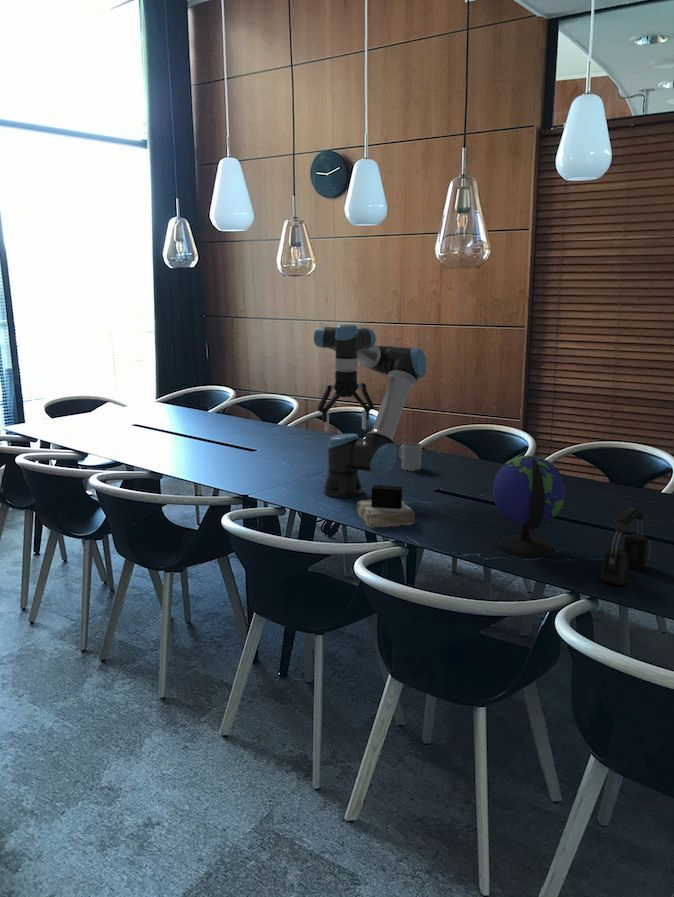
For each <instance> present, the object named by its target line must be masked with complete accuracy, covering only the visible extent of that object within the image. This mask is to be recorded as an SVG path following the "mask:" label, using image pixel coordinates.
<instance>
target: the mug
mask: <svg viewBox="0 0 674 897" xmlns="http://www.w3.org/2000/svg"><path fill="white" fill-rule="evenodd" d="M422 447H423V446H422V444H421V443H419V442H412V441H411V442H410V441H409V442H404V443H402V445H401V446H400V447H399V450H398V455H399V459H400V460H401V469H402V470H403V469H404V470H403V471H406V470H408V471H407V472H416V471H415V470H418V471H420V470H421V469H422V451H423V450H422V449H423V448H422ZM419 469H420V470H419Z"/></svg>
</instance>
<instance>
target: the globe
mask: <svg viewBox="0 0 674 897" xmlns="http://www.w3.org/2000/svg"><path fill="white" fill-rule="evenodd" d="M491 490H492V497H493V502H494V503H495V504H494V505H495V506H496V508H497V509H498V512H499V513H500V514H501V515H503V517H504V518H505V519H507V520H508V521H510V522H511V523H513V524H516V525H519V526H522V528H521V530H520V533H517V534H514V533H513V534H508V535H504V536H501V537H500V538H499V539H498V540H497V542H496V544H495V545H496V547H497V549H498V550H500V551H502V552H503V553H506V554H509V555H511V556H517V557H524V558H539V557H545V556H548V555H550V554H551V553H552V552H553V546H552V544H551V543H550V542H548V540H546V539H544V538H541V537H538V536H537V535H536V536H535V535H531V533H530V531H533V530H536V529H538V528H539V526H540V525H543V524H546V523H547V522H549V521H551V520H552V519H553V518H554V517H555V516H557V514H559V512H560V510H561V509H562V507H563V505H564V503H565V494H566V493H565V492H566V490H565V482H564V477H563V476H562V474H561V472H560V471H559V469H558V468H557V467H556V466H555V465H554V464H552V463H551V461H548V460H547V459H545V458H542V457H540V456H537V455H528V454H527V455H520V456H516V457H513V458H511V459H510V460H508V461H506V462H505V463H504V464H503V465H502V466H501V467H500V469H499V470H498V471H497V474H495V477H494V481H493V483H492V486H491ZM549 553H550V554H549Z"/></svg>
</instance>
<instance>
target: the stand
mask: <svg viewBox="0 0 674 897" xmlns="http://www.w3.org/2000/svg"><path fill="white" fill-rule="evenodd" d="M371 503H372V499H365V500H358V501H357V502H356V514H357V513H358V514H359V515H358V514H357V515H358V517H359V518H360V517H361V518H362V519H363V520H364V521H365V522H366V523H365V522H364V521H363V520H362V519H361V518H360V519H361V520H362V521H363V522H364V523H365V524H366V525H367V527H370V528H369V529H376V528H375V527H381V528H390V527H389V526H392V527H401V526H400V525H404V526H411V525H412V524H414V525H415V516H416V515H415V514H416V512H415V511H414V510H413V509H412V508H411V507H409V506H408V505H407V504H406V503H405V502H404V501H403V500H402V506H401V509H394V508H378V507H371ZM412 526H413V525H412Z"/></svg>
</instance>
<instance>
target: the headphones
mask: <svg viewBox="0 0 674 897" xmlns="http://www.w3.org/2000/svg"><path fill="white" fill-rule="evenodd" d="M641 511H642V510H640V509H639V508H634V507H628V508H626V509H625V510H624V511H623V512H622V513H621V514H620V515H619V517H618V519H617V520H616V522H615V524H614V526H613V530H614V531H615V534H614V537H613V540H612V544H611V548H608V549H607V550H606V551H605V553H604V554H603V560H602V566H601V572H600V578H601V580H602V581H603V582H606V583H609V584H612V585H616V586H623V585H624V584H626V582H627V579H628V572H629V568H631V567H632V569H635V568H636V569H635V570H642V569H644V568H645V566H646V564H647V562H648V561H647V560H648V550H649V541H648V539H647V538H646V536H645V535H644V534H643V529H644V528H643V527H644V525H643V521H644V519H645V515H644V513H642V512H641ZM634 520H636V523H637V528H636V529H637V531H636V534H635V533H633V534H628V535H626V536H625V538H624V540H623V546H622V547H623V548H622V550H621V549H618V545H619V541H620V538H621V535H622V534H626V533H627V530H628V528H629V526H630V524H631V523H632V522H633V521H634ZM617 535H618V536H617ZM616 538H617V539H616ZM615 542H616V543H615ZM614 547H615V548H614ZM628 566H629V567H628Z"/></svg>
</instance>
